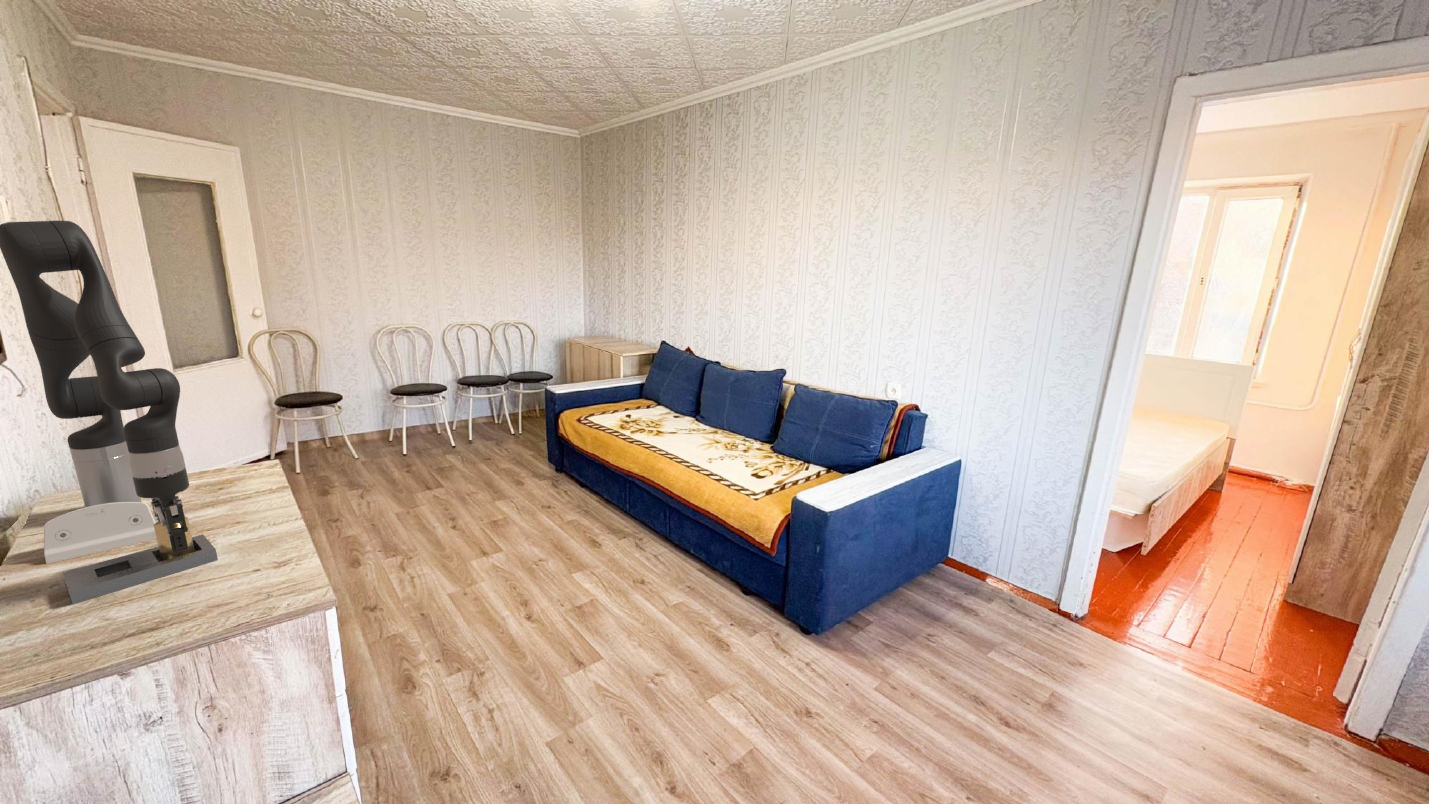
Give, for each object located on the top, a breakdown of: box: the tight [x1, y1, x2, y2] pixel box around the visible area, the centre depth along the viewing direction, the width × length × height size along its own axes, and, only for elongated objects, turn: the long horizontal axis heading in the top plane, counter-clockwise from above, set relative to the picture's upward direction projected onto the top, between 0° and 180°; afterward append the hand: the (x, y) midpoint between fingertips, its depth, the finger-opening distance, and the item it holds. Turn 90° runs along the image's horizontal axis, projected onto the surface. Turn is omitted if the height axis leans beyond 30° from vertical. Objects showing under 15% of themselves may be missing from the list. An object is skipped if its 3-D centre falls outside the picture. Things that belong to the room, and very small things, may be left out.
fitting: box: [154, 516, 196, 562], centre depth 112 cm, size 5×5×9 cm
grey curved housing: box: [43, 502, 157, 565], centre depth 117 cm, size 17×5×10 cm, turn 136°
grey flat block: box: [62, 534, 219, 605], centre depth 109 cm, size 10×20×2 cm, turn 144°
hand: (175, 543), depth 112 cm, fingers open, 8 cm apart
